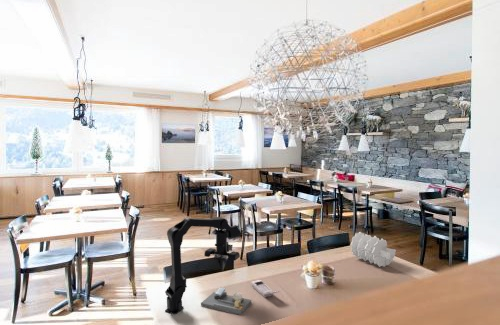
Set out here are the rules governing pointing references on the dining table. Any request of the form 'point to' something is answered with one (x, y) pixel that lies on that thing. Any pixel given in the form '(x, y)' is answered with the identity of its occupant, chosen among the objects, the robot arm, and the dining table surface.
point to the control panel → (225, 303)
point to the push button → (237, 296)
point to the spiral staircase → (372, 249)
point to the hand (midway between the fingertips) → (222, 269)
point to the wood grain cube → (238, 304)
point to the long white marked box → (262, 288)
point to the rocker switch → (220, 291)
